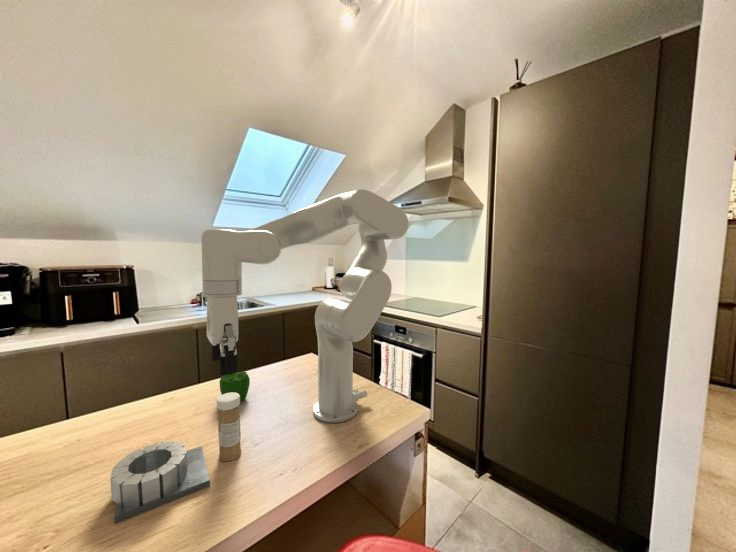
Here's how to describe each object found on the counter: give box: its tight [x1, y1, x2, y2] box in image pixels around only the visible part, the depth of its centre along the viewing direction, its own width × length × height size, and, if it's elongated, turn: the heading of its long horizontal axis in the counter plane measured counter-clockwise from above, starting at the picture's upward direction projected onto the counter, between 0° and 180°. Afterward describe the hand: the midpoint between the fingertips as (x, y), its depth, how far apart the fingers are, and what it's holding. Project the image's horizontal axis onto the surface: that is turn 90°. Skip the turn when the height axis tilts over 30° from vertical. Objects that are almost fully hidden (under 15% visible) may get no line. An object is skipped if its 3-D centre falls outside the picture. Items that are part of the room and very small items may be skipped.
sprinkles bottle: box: [216, 392, 242, 462], centre depth 66 cm, size 5×5×13 cm
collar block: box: [110, 441, 211, 524], centre depth 58 cm, size 15×12×5 cm
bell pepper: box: [219, 371, 251, 402], centre depth 90 cm, size 8×8×10 cm
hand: (224, 366), depth 66 cm, fingers open, 9 cm apart
